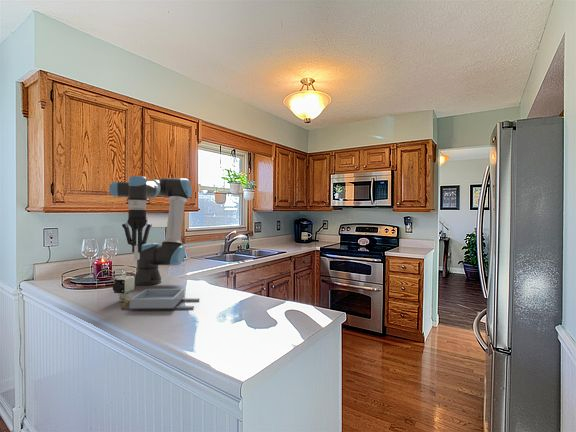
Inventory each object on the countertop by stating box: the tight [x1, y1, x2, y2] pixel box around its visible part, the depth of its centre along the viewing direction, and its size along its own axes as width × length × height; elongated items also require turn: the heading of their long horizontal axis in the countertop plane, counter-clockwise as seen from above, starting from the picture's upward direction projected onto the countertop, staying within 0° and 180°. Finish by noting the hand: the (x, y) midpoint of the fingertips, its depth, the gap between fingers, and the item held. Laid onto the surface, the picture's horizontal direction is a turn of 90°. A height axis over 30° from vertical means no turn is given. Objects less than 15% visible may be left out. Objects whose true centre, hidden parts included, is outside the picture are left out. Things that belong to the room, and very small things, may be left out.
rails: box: [120, 297, 200, 311], centre depth 140 cm, size 14×31×2 cm, turn 95°
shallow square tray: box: [129, 288, 185, 308], centre depth 140 cm, size 18×18×4 cm
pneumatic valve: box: [112, 274, 137, 303], centre depth 146 cm, size 6×12×12 cm, turn 174°
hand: (136, 259), depth 145 cm, fingers closed
